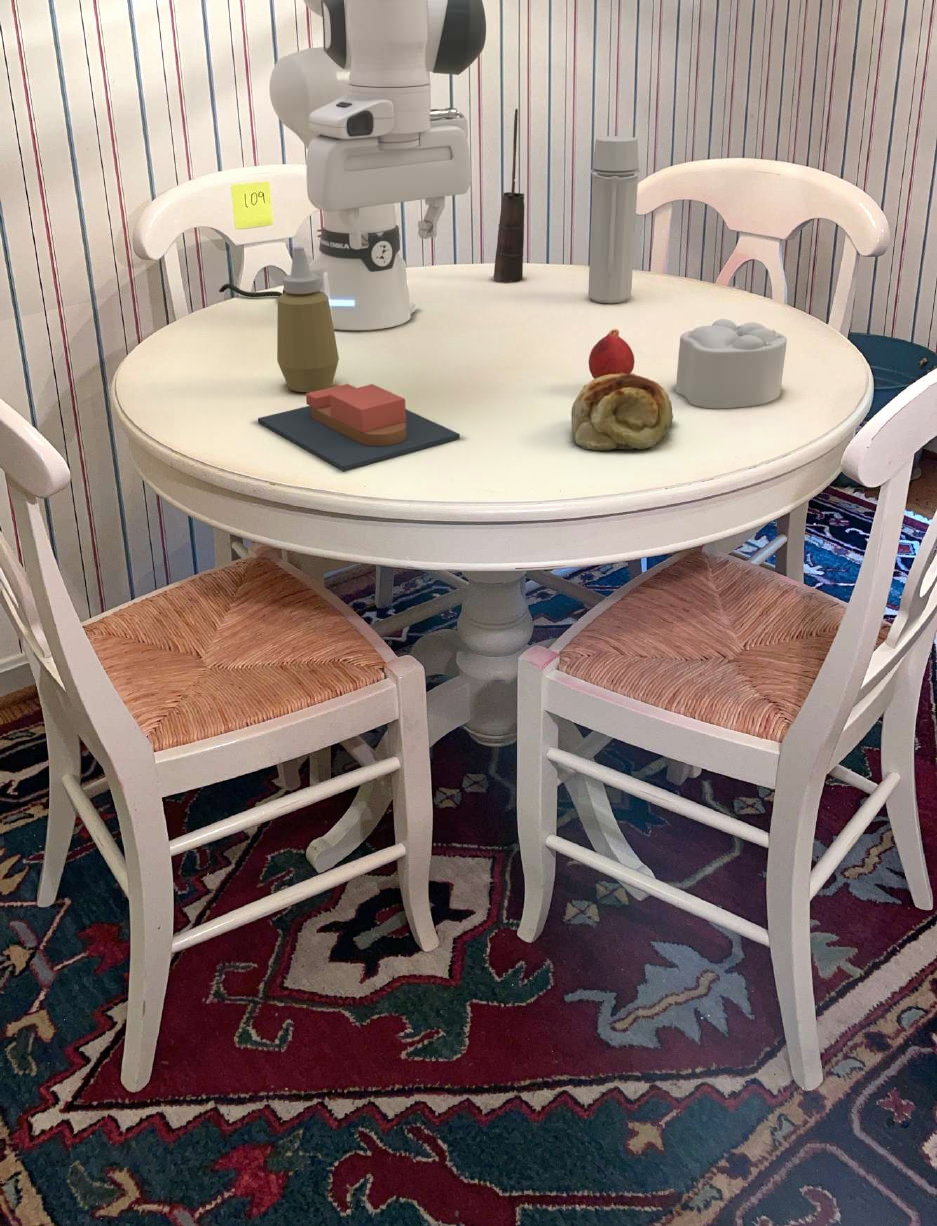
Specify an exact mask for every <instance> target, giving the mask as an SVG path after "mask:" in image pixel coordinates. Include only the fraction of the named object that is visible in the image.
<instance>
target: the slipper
mask: <svg viewBox="0 0 937 1226" xmlns="http://www.w3.org/2000/svg"><path fill="white" fill-rule="evenodd" d="M305 401H306V405H307V406H311V416H312V418H313V419H315V420H316V421H318V422H320V423H322V424H324V425H326V426H328V427H330V428H332V429H334V430H336V431H337V432H339V433H341V434H343V435H345V436H347V437H349V438H351V439H353V440H355V441H357V442H358V443H361V444H363V445H368V446H389V445H394V444H397V443H400V442H402V441H403V440H405V438H406V423H405V422H406V410H407V409H406V398H404V397H402V396H399V395H398V394H396V393H393V392H392V391H389V390H387V389H384V388H382V387H379V386H377V385H375V384H373V383H370V384H367V385H362V386H358V387H356V386H354V385H351V384H349V383H344V384H340V385H336V386H335V385H334V386H331V387H330V388H327V389H323V390H318V391H314V392H305ZM405 409H406V410H405Z"/></svg>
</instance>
